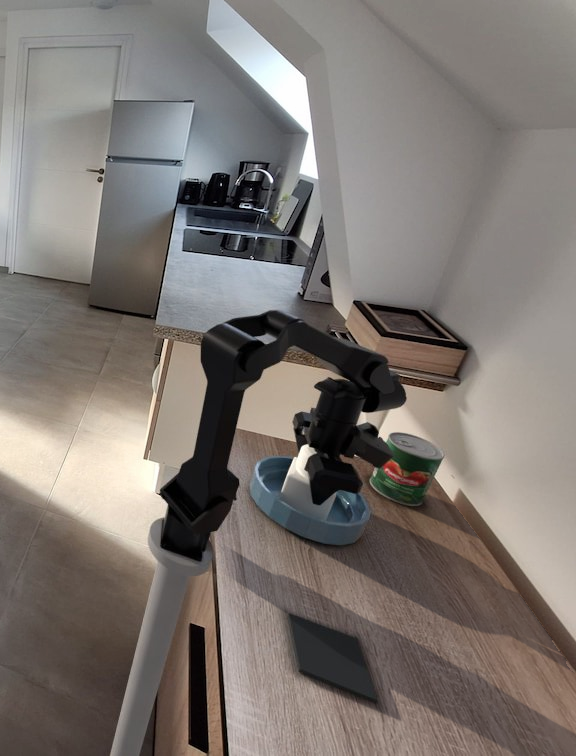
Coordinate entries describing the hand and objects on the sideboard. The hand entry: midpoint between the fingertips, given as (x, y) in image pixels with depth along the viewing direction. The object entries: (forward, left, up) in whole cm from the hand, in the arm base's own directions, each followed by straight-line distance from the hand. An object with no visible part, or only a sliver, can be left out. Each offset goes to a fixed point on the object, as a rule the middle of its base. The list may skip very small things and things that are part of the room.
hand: (310, 486), depth 82 cm
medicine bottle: (0, 0, -5) cm, 5 cm away
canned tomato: (+18, +14, -5) cm, 23 cm away
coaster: (-2, -29, -5) cm, 30 cm away
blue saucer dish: (0, 0, -5) cm, 5 cm away
